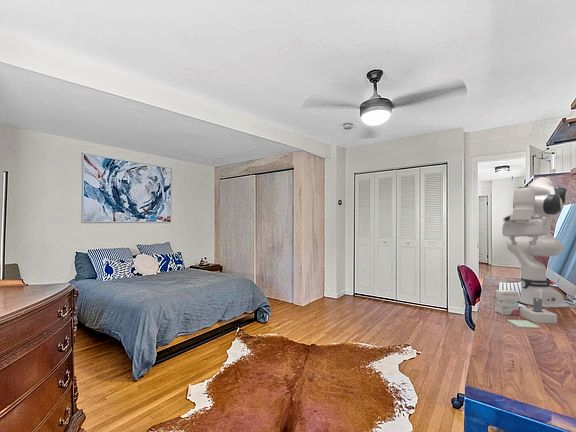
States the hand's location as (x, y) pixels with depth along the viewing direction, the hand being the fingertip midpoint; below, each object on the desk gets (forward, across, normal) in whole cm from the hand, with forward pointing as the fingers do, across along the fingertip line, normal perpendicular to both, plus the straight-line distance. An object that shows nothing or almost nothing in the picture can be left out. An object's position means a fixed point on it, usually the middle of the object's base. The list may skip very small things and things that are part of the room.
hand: (523, 245), depth 143 cm
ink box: (+36, +12, -5) cm, 38 cm away
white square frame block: (+35, +1, -11) cm, 37 cm away
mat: (+38, -4, +3) cm, 38 cm away
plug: (+35, +1, -11) cm, 37 cm away
